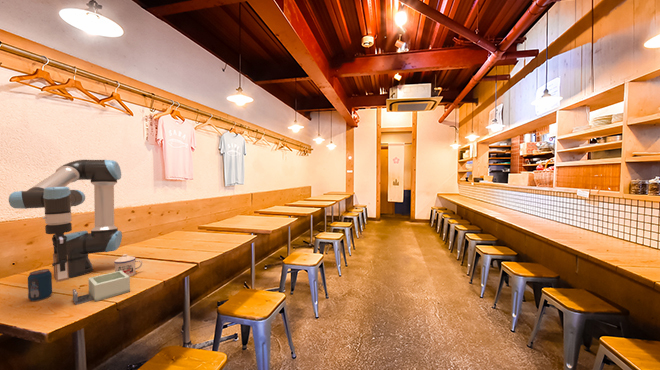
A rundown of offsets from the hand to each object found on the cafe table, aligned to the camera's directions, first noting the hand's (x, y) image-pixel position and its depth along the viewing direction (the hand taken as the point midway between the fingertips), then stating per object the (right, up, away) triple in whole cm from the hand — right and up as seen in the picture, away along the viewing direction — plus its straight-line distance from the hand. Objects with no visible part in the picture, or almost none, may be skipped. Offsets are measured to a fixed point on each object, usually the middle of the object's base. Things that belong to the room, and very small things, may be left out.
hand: (61, 275), depth 106 cm
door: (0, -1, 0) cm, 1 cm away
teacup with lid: (+3, -11, +32) cm, 34 cm away
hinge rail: (+6, -12, +3) cm, 14 cm away
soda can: (-15, -12, +5) cm, 20 cm away
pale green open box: (+12, -11, +10) cm, 19 cm away
